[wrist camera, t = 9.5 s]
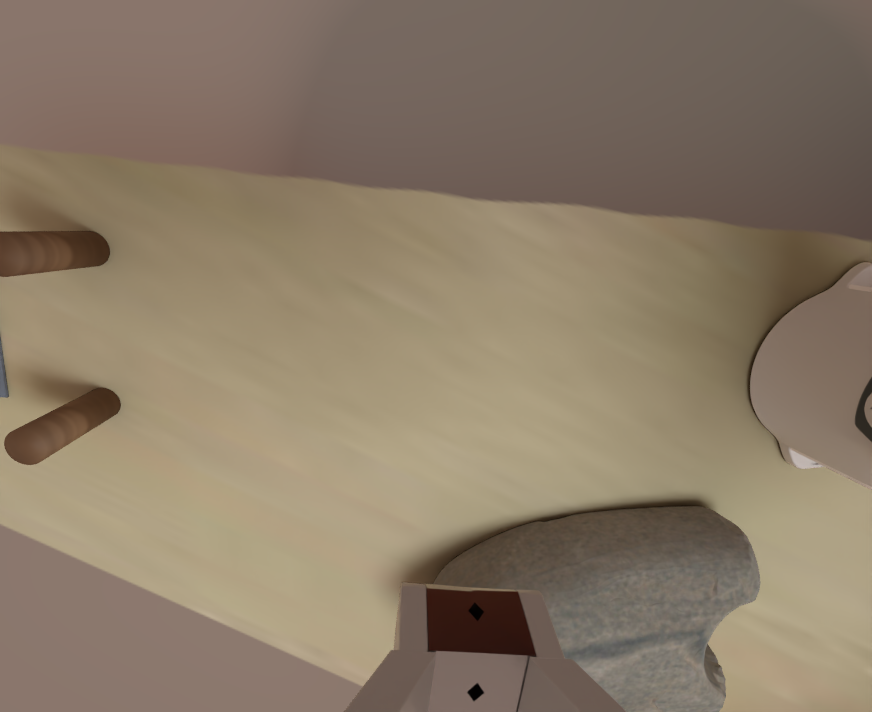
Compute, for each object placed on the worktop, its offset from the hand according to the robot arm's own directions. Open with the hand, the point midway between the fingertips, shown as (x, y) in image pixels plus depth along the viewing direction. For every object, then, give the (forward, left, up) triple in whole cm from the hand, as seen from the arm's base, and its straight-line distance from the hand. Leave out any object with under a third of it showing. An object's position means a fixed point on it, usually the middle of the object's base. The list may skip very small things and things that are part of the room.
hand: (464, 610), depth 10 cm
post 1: (+26, -3, -29) cm, 39 cm away
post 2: (+26, +9, -29) cm, 40 cm away
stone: (-17, +24, -29) cm, 41 cm away
